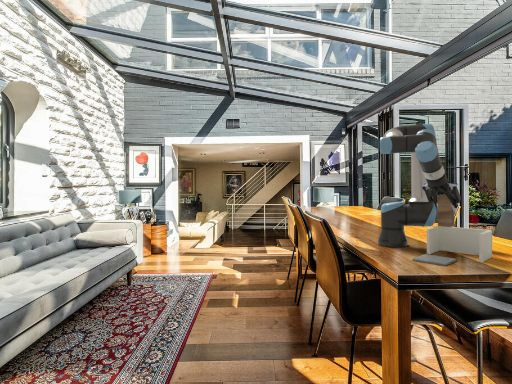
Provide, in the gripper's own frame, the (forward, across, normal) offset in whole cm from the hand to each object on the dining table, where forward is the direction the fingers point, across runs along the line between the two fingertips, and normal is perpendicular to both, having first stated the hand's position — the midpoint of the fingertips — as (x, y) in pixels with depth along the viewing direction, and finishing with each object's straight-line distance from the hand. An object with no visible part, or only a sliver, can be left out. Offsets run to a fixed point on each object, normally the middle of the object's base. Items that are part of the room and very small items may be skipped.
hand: (448, 211), depth 144 cm
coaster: (+7, -2, -22) cm, 23 cm away
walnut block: (+2, 0, -7) cm, 7 cm away
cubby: (+20, +2, -10) cm, 22 cm away
